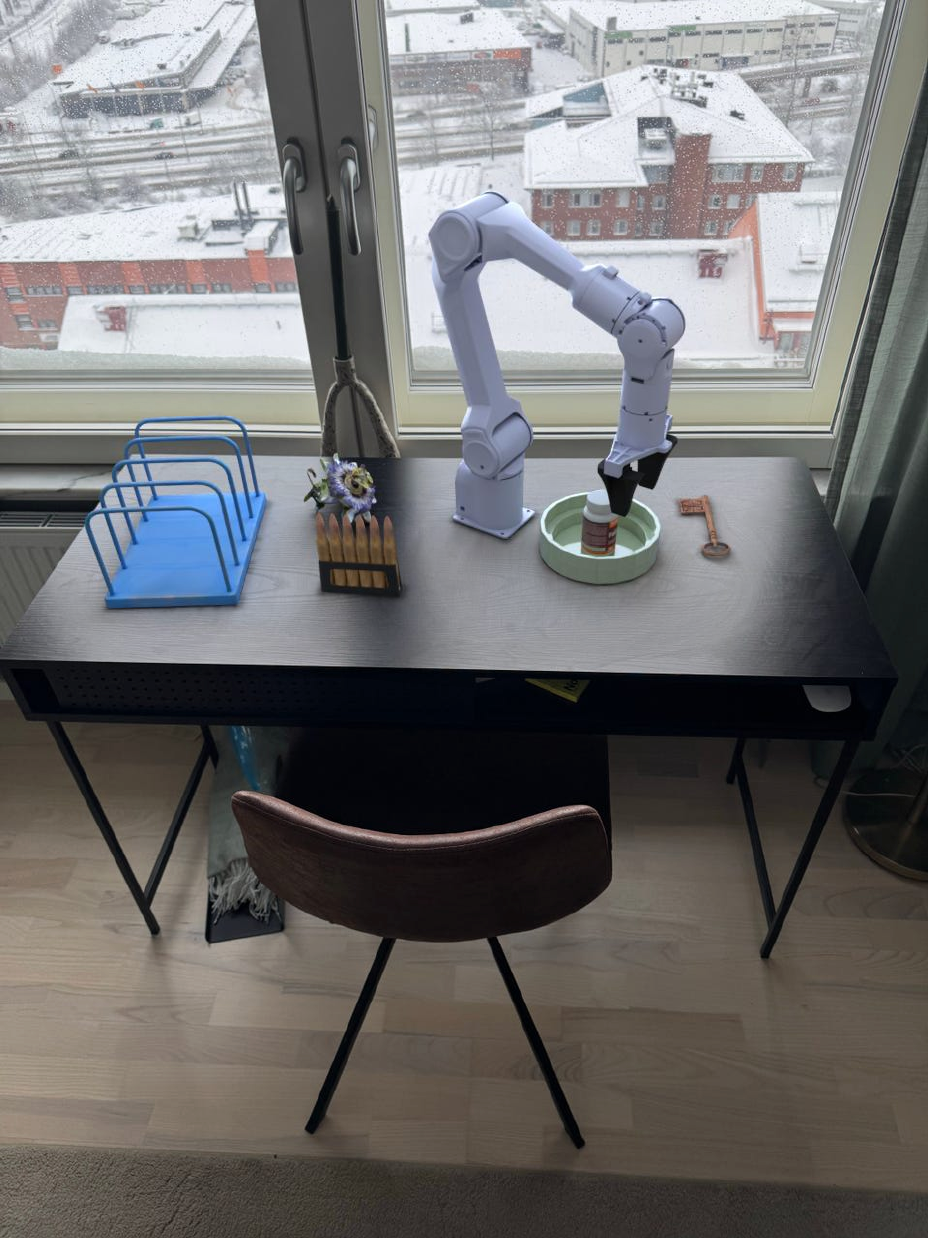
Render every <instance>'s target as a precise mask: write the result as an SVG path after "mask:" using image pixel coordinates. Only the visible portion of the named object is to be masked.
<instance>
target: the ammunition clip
mask: <svg viewBox="0 0 928 1238" xmlns="http://www.w3.org/2000/svg"><path fill="white" fill-rule="evenodd" d="M315 516H316V515H315ZM328 522H329V523H328V530H329V537H328V533H327V529H326V524H325V520H324V518H323V517H322V514H321V513H320V512H318V514H317V516H316V517H315V531H316V532H315V533H316V549H317V550H316V551H317V556H318V561H317V562H318V570H319V571H318V572H319V573H318V574H319V581H320V592H322V593H329V594H331V593H333V594H347V595H348V594H349V595H350V594H351V595H365V596H385V597H400V596H401V593H402V591H403V583H402V578H401V577H402V575H401V571H400V570H401V569H400V564H399V563H400V562H399V557H398V551H397V543H396V540H395V534H394V528H393V524H392V521H391V518H389V516H388V515H387V516H385V517H384V522H383V541H382V538H381V533H380V527H379V523H378V519H377V518H376V517H375V515H371V521H370V523H369V539H368V536H367V531H366V527H365V522H363V519H362V517H361V516H360V515H358V517H357V521H356V525H355V533H356V535H355V536H356V540H355V536H354V532H353V527H352V523H350V520H349V518H348V516H347V515H346V514H345V515H344V517H343V521H342V538H341V533H340V527H339V524H338V523H339V522H338V521H337V518H336V516H335V514H334V513H331V514H330V515H329V519H328Z"/></svg>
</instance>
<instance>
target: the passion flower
mask: <svg viewBox="0 0 928 1238" xmlns="http://www.w3.org/2000/svg"><path fill="white" fill-rule="evenodd" d="M331 461H332V463H331V462H330V461H329V462H328V461H327V460H326V458H320V459H319V462H320V465H321V467H322V470H323V471H324V474H325V476H326V478H321V481H317V482H314V481H313V479H312V478H311V475H310V473H311V474H312V477H313V478H314V479H317V473H316V472H315V470H314V468H312V467H310V468H309V467H308V469H307V471H306V475H307V477H308V479H309V482H310V484H311V486H312V488H311V489H310V490H309V492H308V493H306V495H305V496H304V498H303V502H304V503H306V502H307V501H308V500H310V499H311V498H313V500H314V502H315V509H314V510H315V516H317V514H318V513H319V511H320V510H321V509H323V508H324V507H325V505H334V504H337V503H339V504H341V505H342V507H343V509H342V512H341V515H340V516H341V517H340V520H341V522H343V517H344V515H345V514H346V515H347V516H348V518H349V520H350V523H351V524H353V525H355V526H356V521H357V517H358V515H360V516H361V517H362V519H363V522H364V523H367V524H370V521H371V517H372V515H371V512H370V510H371V508H372V505H376V504H377V499H376V497H375V492H376V489H375V488H376V487H377V485H374V484H373V483H374V480H373V478H372V476H371V474H370V472H369V471H367V469H366V466H365V464H363V463H362V464H361V465H360V466H359V467H358V463H357V462H352V461H351V462H349V459H348V460H345V461H344V460H342V461H341V460H340V458H339V454H338V453H334V454H333V457H332V460H331Z"/></svg>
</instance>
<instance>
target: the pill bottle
mask: <svg viewBox="0 0 928 1238" xmlns="http://www.w3.org/2000/svg"><path fill="white" fill-rule="evenodd" d="M618 516H619V515H617V514H614V513H612V512H611V509H610V504H609V498H608V494H607V490H606V489H594V490H591V491H590V493H589V494H588V495H587V502H586V506H585V508H584V510H583V524H582V539H581V548H582V550H583V552H585V553H586V554H588V555H591V556H598V557H602V556H608V555H610V554H612V553H613V552H614V550H615V544H616V535H617V524H618Z"/></svg>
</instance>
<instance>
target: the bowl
mask: <svg viewBox="0 0 928 1238" xmlns="http://www.w3.org/2000/svg"><path fill="white" fill-rule="evenodd" d="M590 492H591V491H590ZM590 492H589V491H588V492H586V491H585V492H580V493H574V494H571V495H566V496H565V497H562V498H559V499H557V500H556V501H553V502H552V503H551V504H550V505H549V506H548V507H547V508H545V510H543V513H542V515H541V517H540V520H539V539H538V540H539V542H538V545H539V552H540V557H541V558H542V559H543V561H544V562H545V564H547V566H548V567H549V568H551V569H552V570H554V571H555V572H556V573H558V575H561V576H562V577H563V576H564V577H566V578H568V579H571V580H574V581H576V582H582V583H589V584H595V585H598V584H599V585H602V584H605V585H606V584H619V583H622V582H627V581H631V580H634V579H637V578H638V577H640V576H643V574H645V573H648V571H649V570H650V569H651V568H652V567H653V566H654V564H655V563H656V560H657V557H658V554H659V553H658V552H659V546H660V538H661V530H662V527H661V523H660V520H659V516H657V514H656V513H655V512H654V511H653V510H652V509H651V508H650V507H649V506H647V505H645V504H644V503H643V502H640V500H637V499H635V498H633V500H632V504H631V508H630V510H629V513H628V515H627V516H626V517H623V516H620V515H619V516H618V524H617V535H616V544H615V550H614V552H613V553H612V554H610V555H608V556H602V557H598V556H591V555H588V554H586V553H585V552H583V550H582V548H581V539H582V524H583V510H584V508H585V506H586V502H587V495H588V494H589V493H590Z"/></svg>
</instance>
